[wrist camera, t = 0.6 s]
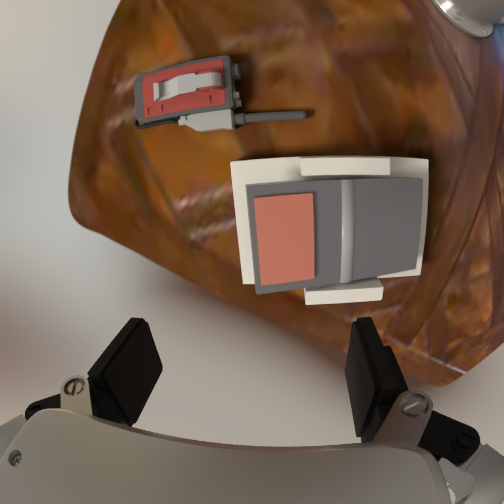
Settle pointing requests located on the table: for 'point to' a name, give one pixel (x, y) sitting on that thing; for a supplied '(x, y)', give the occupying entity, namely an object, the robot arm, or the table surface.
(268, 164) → the switch housing
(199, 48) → the table surface
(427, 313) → the table surface
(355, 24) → the table surface
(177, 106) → the walkie-talkie
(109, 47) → the table surface
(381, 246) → the rocker
